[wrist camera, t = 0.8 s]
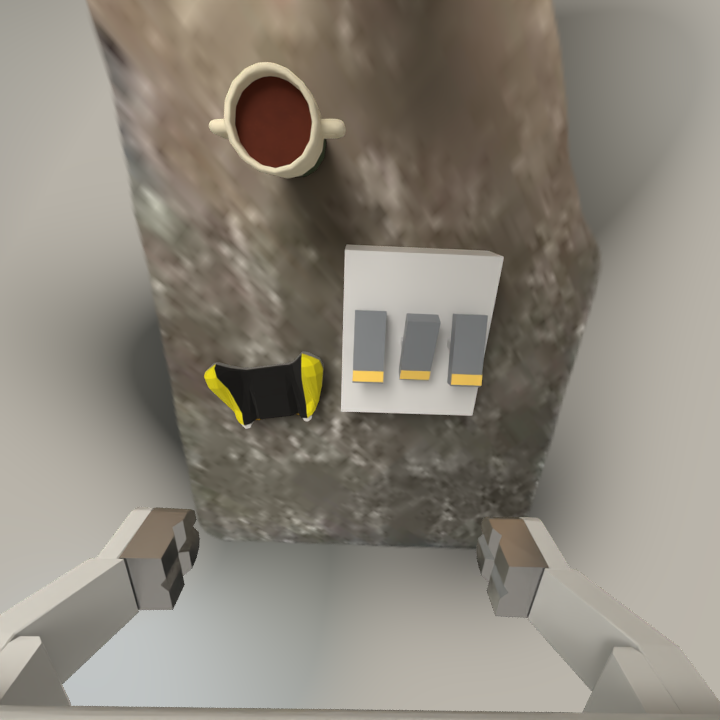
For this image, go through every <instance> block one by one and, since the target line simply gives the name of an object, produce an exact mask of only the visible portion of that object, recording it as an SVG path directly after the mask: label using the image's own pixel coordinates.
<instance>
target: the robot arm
mask: <svg viewBox="0 0 720 720" xmlns="http://www.w3.org/2000/svg"><path fill="white" fill-rule="evenodd" d="M195 522H196V515H195V511H194V510H191V509H174V508H148V507H137V508H135V509H134V510H132V512H131V513H130V514H129V515H128V517H127V518H126V520H125V521H124V522H123V523H122V525H121V526H120V527H119V528H118V530H117V531H116V532H115V534H114V535H113V536H112V538H111V539H110V540H109V542H108V543H107V544H106V546H105V547H104V548H103V550H102V551H101V552H100V554H99V555H98V556H97V557H96V558H90V559H88V560H86V561H85V562H83V563H82V564H80V565H79V566H77V567H75V568H74V569H72V570H71V571H69V572H67V573H66V574H64V575H62V576H61V577H59V578H58V579H56V580H55V581H53V582H51V583H50V584H48V585H46V586H45V587H43V588H42V589H40V590H38V591H37V592H35V593H34V594H32V595H31V596H29V597H27V598H26V599H24V600H23V601H21V602H19V603H18V604H16V605H15V606H13V607H11V608H10V609H8V610H7V611H5V612H3V613H2V614H0V720H720V701H719V700H718V698H717V697H716V696H715V694H714V693H713V692H712V690H711V689H710V688H709V686H708V685H707V683H706V682H705V681H704V679H703V678H702V677H701V675H700V674H699V673H698V671H697V670H696V669H695V667H694V666H693V665H692V663H691V662H690V660H689V659H688V658H687V656H686V655H685V654H684V652H683V651H682V650H681V649H680V647H679V646H678V645H676V644H675V643H674V642H672V641H671V640H670V639H668V638H667V637H666V636H664V635H663V634H662V633H660V632H659V631H658V630H656V629H655V628H654V627H652V626H651V625H650V624H649V623H647V622H646V621H644V620H643V619H642V618H641V617H639V616H638V615H636V614H635V613H634V612H633V611H631V610H630V609H628V608H627V607H626V606H624V605H623V604H622V603H621V602H619V601H618V600H617V599H615V598H614V597H612V596H611V595H610V594H609V593H607V592H606V591H604V590H603V589H602V588H601V587H599V586H598V585H597V584H595V583H594V582H593V581H591V580H590V579H589V578H587V577H586V576H585V575H583V574H582V573H581V572H579V571H578V570H576V569H570V567H569V565H568V563H567V562H566V560H565V559H564V557H563V555H562V554H561V552H560V550H559V549H558V547H557V545H556V544H555V542H554V541H553V539H552V537H551V536H550V534H549V532H548V531H547V529H546V527H545V526H544V524H543V522H542V521H541V520H540V519H538V518H531V517H520V518H518V517H484V518H483V520H482V523H481V529H482V532H483V535H482V536H480V537H479V538H478V541H477V547H476V553H477V562H478V566H479V570H480V573H481V575H482V576H483V577H484V578H485V579H486V580H487V581H488V582H489V584H488V588H487V593H488V596H489V599H490V602H491V605H492V608H493V610H494V613H495V616H505V617H523V618H528V620H529V621H530V623H531V624H532V625H533V626H534V627H535V628H536V629H537V630H538V631H539V632H540V634H541V635H542V636H543V637H544V638H545V639H546V641H547V642H548V643H549V644H550V645H551V646H552V647H553V648H554V650H555V651H556V652H557V653H558V654H559V655H560V656H561V657H562V658H563V660H564V661H565V662H566V663H567V664H568V665H569V666H570V667H571V668H572V670H573V671H574V672H575V673H576V674H577V675H578V676H579V678H580V679H581V680H582V681H583V682H584V683H585V684H586V685H587V687H589V689H590V690H591V691H592V693H591V695H590V697H589V700H588V702H587V704H586V706H585V708H584V710H583V712H582V713H572V712H571V713H570V712H496V711H494V712H492V711H423V710H422V711H421V710H420V711H419V710H353V709H352V710H350V709H347V710H346V709H271V708H267V709H266V708H193V707H118V706H116V707H115V706H71V703H70V700H69V698H68V696H67V694H66V692H65V690H64V687H63V685H62V684H63V683H64V682H65V681H66V680H67V679H68V678H69V677H71V676H72V674H74V673H75V672H76V671H77V670H78V669H79V668H80V667H81V666H82V665H83V664H84V663H85V662H86V661H88V660H89V659H90V658H91V656H93V655H94V654H95V653H96V652H97V651H98V650H99V649H100V648H101V647H102V646H103V645H104V644H106V643H107V642H108V641H109V640H110V639H111V638H112V637H113V636H114V635H115V634H116V633H117V632H118V631H119V630H120V629H121V628H123V627H124V626H125V625H126V624H127V623H128V622H129V621H130V620H131V619H132V618H133V617H134V616H135V615H136V614H137V613H138V612H139V611H138V610H173V608H174V606H175V604H176V602H177V600H178V598H179V595H180V593H181V591H182V589H183V587H184V585H185V584H184V579H183V576H184V575H185V574H186V573H187V572H188V571H190V570H191V569H192V567H193V565H194V563H195V561H196V558H197V554H198V550H199V540H200V538H199V532H198V531H197V530H196V529H195V528H194V527H193V525H194V524H195Z"/></svg>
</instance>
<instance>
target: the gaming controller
mask: <svg viewBox="0 0 720 720" xmlns="http://www.w3.org/2000/svg"><path fill="white" fill-rule="evenodd" d="M323 371H324V365H323V362H322V360H321V358H319V357H317V356H315V355H313V354H311V353H309V352H305V351H303V352H301V354H300V355H299V356H298V357H297V358H296V359H295V360H294V361H292V362H290V363H285V364H277V365H269V366H261V367H253V368H242V367H237V366H232V365H228V364H223V363H219V362H216V363H214V364H213V365H211V366H210V367H209V368H208V369H207V370H206V372H205V375H204V378H205V380H206V383H207V385H208V387H209V388H210V389H211V390H212V391H213V392H214V393H215V394H216V395H217V396H218V397H219V398H220V399H221V400H222V401H223V402H224V403H225V404H226V405H227V406H228V407H230V408H231V409H232V410H233V411H234V412H235V415H236V419H237V420H238V422H239V423H241V424H242V426H243V427H245V428H246V429H247V428H251V426H252V424H253V422H254V420H260V419H265V418H274V417H282V416H291V415H294V414H298V415H300V416H301V417H302V418H303V419H304V421H309V420H310V419H311V418H312V414H313V412H314V411H315V409H316V407H317V404H318V402H319V397H320V392H321V388H322V383H323Z"/></svg>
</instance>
